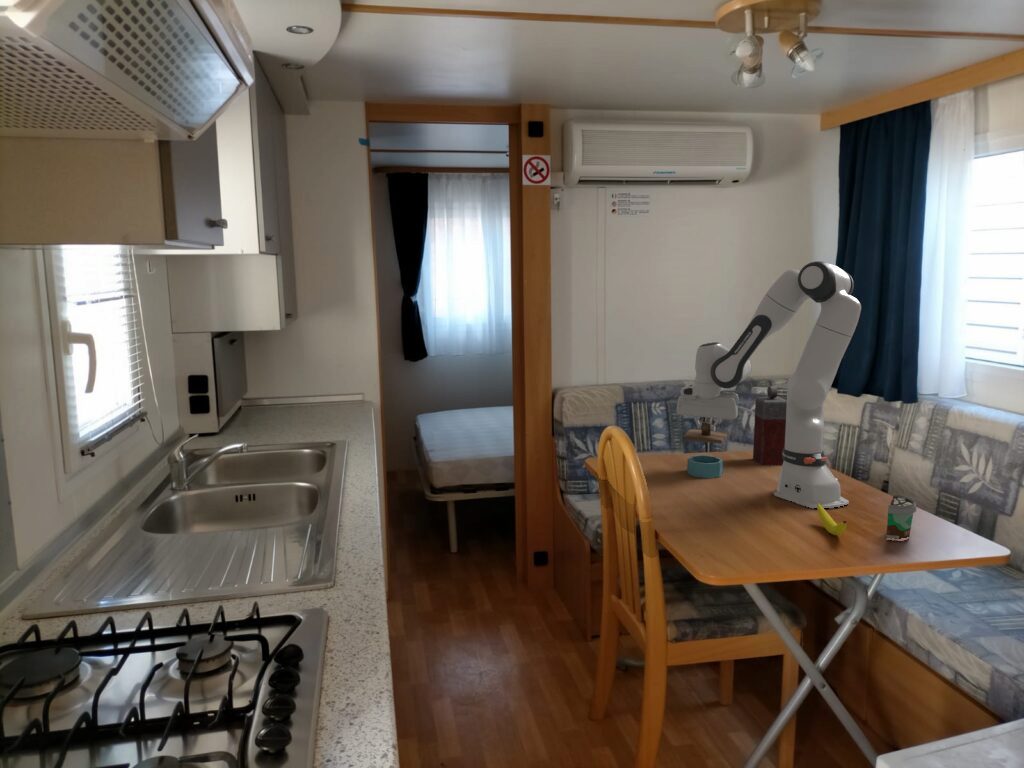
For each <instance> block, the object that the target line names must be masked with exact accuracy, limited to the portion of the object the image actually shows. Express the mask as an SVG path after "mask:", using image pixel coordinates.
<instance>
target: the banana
mask: <svg viewBox="0 0 1024 768" xmlns="http://www.w3.org/2000/svg"><path fill="white" fill-rule="evenodd" d="M817 515H818V517H819V520H820V522H821V524H822V526H823V528H825V530H826V531H827V532H828V533H829V534H830V533H831V535H833V536H836V535H837V536H841V535H842V534H844V533H845V530H846V528H847V521H846V520H844V521H842V522H839V523H836V521H834V519H833V518H832V516H830V514H829V513H828V512H827V511H826V509H824V508H823V507H822V506H821V505H820V504H819V503H818V505H817Z"/></svg>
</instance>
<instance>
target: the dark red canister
mask: <svg viewBox="0 0 1024 768" xmlns="http://www.w3.org/2000/svg"><path fill="white" fill-rule="evenodd" d="M766 393H767V396H757V397H755V404H754V406H755V407H754V427H753V429H754V430H753V431H754V432H753V448H752V451H753V452H752V460H753V461H755V462H756V463H757V464H758V465H760V466H782V465H783V462H784V460H783V455H782V453H783V448H784V447H785V431H786V409H787V399H784V398H782V397H780V396H778V388H777V386H776V385H772V386H771V385H769V386H768V387H767V391H766Z"/></svg>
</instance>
